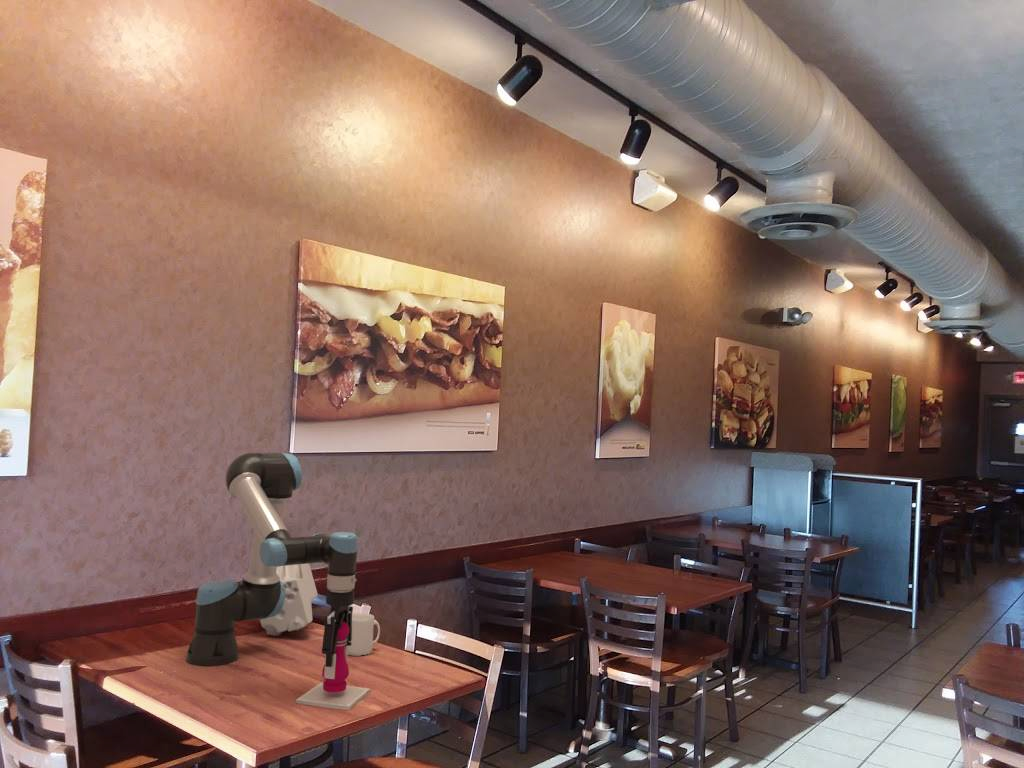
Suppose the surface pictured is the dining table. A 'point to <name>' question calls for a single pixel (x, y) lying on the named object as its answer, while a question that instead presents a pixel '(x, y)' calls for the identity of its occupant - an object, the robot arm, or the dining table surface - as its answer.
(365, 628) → the mug
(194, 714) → the dining table surface
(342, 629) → the pepper mill
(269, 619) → the white sculpture
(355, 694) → the plate
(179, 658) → the dining table surface
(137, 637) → the dining table surface
